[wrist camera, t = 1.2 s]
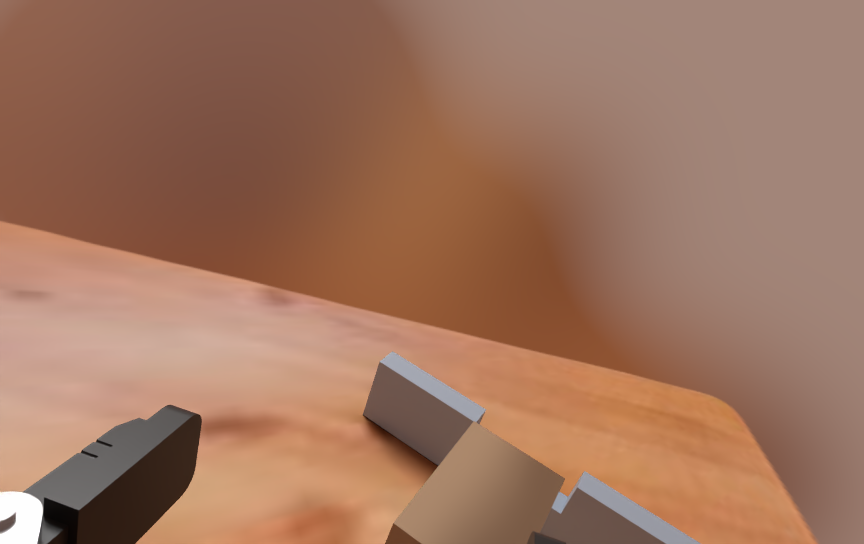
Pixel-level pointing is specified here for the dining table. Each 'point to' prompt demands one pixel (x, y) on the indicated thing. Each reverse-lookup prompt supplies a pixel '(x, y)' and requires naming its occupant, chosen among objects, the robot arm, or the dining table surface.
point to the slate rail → (454, 413)
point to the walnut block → (479, 496)
